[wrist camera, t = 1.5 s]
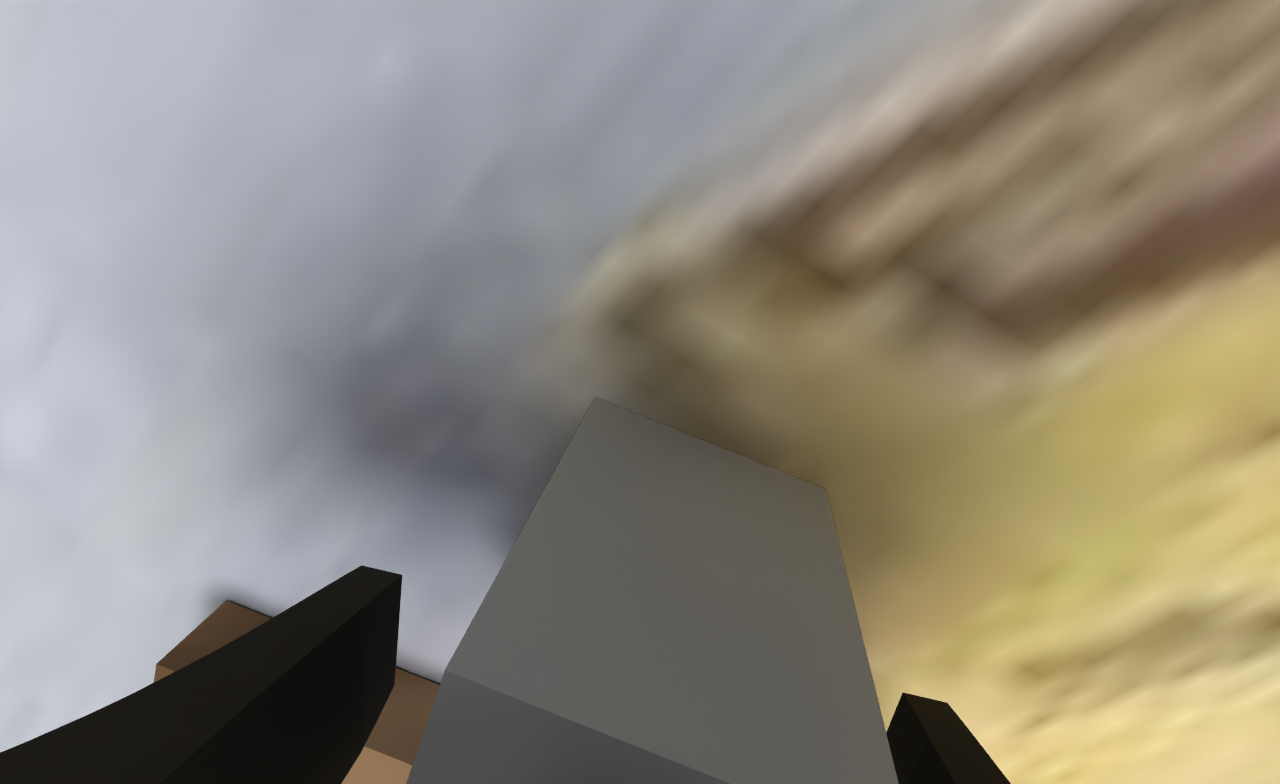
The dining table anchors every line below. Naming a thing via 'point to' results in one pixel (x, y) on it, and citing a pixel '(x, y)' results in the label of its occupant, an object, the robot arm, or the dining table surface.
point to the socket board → (396, 731)
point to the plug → (662, 630)
